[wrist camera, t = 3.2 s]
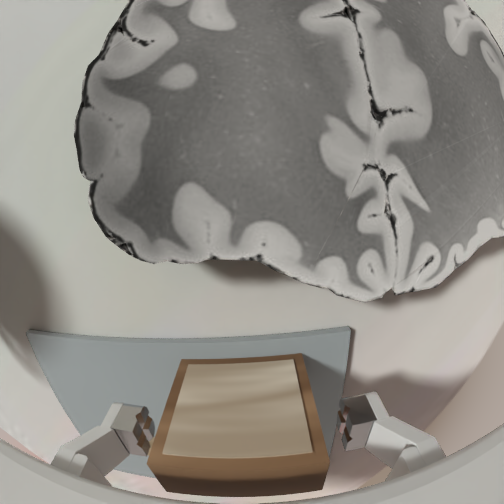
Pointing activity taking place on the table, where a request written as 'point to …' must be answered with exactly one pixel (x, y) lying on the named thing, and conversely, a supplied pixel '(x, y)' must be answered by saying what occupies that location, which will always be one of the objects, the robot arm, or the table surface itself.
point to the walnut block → (240, 429)
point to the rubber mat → (165, 368)
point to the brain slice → (299, 137)
